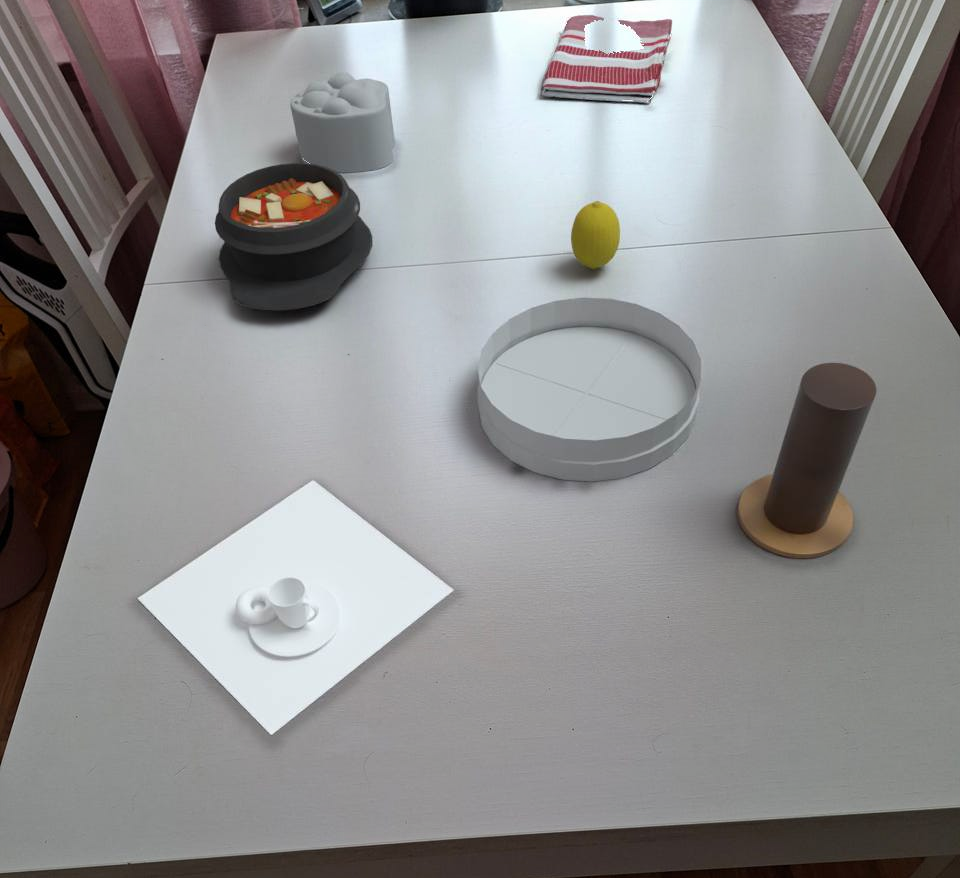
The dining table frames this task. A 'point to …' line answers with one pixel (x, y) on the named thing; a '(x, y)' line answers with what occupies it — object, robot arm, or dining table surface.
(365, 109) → the lumpy-topped squat cylinder
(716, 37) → the dining table surface
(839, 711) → the dining table surface
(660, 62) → the dish towel
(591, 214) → the lemon
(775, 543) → the coaster
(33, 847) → the dining table surface
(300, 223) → the casserole
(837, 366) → the brown cylinder
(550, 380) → the dish
